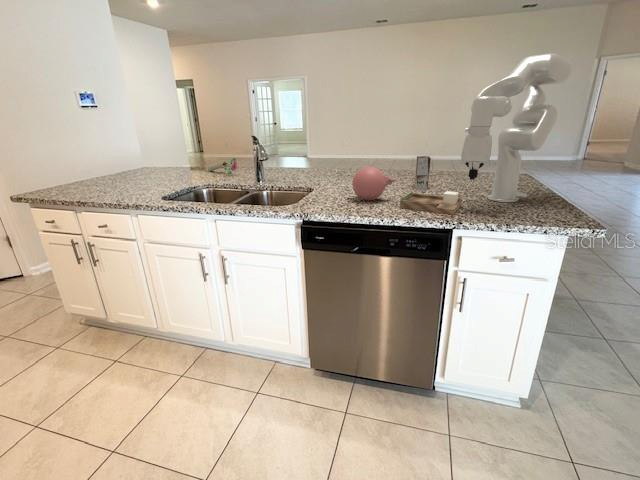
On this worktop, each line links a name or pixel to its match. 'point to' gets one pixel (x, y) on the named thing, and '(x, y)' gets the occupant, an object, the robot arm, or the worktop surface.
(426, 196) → the box
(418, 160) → the coffee box
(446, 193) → the block
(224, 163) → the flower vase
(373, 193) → the balloon
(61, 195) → the worktop surface
